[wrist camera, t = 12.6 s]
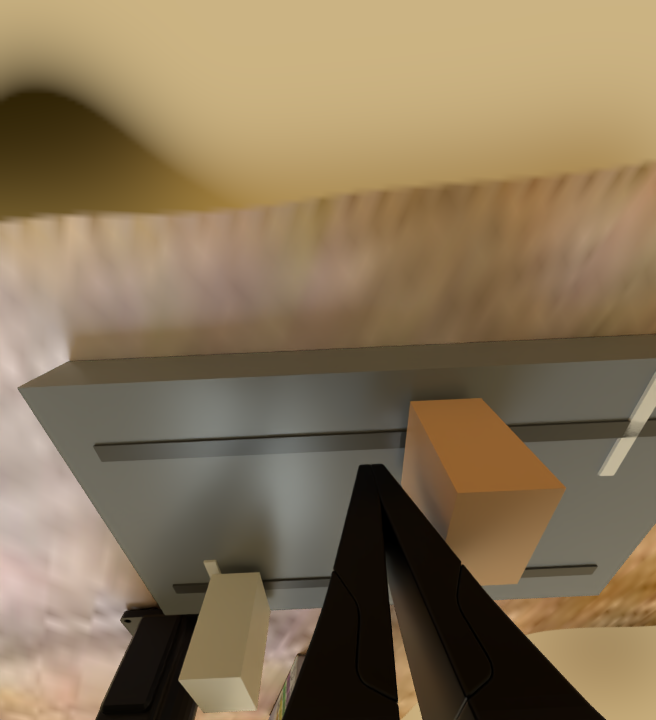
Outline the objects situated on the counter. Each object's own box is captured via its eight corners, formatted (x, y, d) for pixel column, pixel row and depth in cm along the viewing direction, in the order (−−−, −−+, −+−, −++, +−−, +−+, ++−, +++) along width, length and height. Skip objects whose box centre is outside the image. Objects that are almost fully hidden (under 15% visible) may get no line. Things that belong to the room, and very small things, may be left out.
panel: (570, 558, 18) (600, 597, 16) (181, 576, 18) (164, 617, 16) (712, 331, 11) (796, 353, 9) (68, 361, 11) (14, 389, 9)
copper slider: (460, 480, 11) (516, 583, 8) (400, 483, 11) (433, 587, 8) (481, 397, 9) (566, 488, 6) (410, 401, 9) (457, 493, 6)
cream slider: (270, 610, 15) (257, 710, 12) (228, 612, 15) (203, 713, 12) (259, 572, 13) (240, 677, 10) (211, 574, 13) (178, 680, 10)
